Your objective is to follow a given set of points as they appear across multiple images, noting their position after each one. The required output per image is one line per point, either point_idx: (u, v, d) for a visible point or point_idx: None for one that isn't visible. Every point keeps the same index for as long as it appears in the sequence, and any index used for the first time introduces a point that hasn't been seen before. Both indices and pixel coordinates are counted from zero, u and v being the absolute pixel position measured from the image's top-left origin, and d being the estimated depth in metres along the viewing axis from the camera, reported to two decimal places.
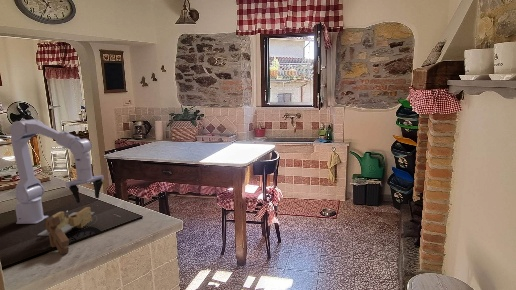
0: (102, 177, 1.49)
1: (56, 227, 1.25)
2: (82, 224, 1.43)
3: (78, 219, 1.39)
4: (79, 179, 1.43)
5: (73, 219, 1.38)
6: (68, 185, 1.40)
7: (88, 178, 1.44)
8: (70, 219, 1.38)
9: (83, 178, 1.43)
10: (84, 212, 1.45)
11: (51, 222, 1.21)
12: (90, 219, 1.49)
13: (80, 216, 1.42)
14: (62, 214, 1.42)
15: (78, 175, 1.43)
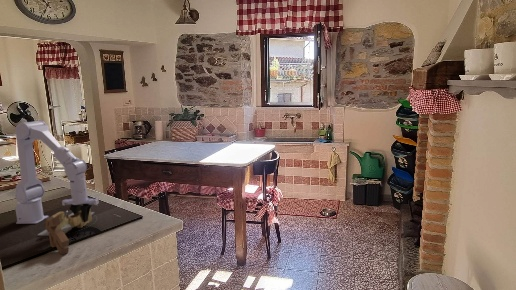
0: (94, 202, 1.42)
1: (56, 227, 1.25)
2: (82, 224, 1.43)
3: (78, 219, 1.39)
4: None
5: (73, 219, 1.38)
6: (63, 203, 1.44)
7: (77, 201, 1.41)
8: (70, 219, 1.38)
9: (73, 200, 1.41)
10: None
11: (51, 222, 1.21)
12: (90, 219, 1.49)
13: (80, 216, 1.42)
14: (62, 214, 1.42)
15: None
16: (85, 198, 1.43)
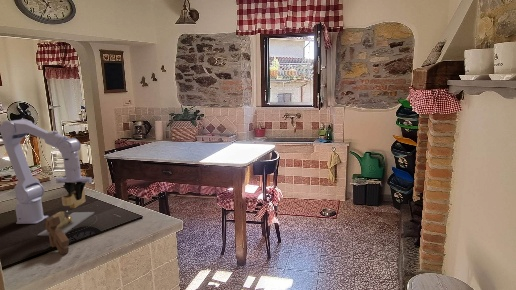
0: (87, 180, 1.44)
1: (56, 227, 1.25)
2: (75, 204, 1.45)
3: (71, 199, 1.41)
4: None
5: (66, 199, 1.39)
6: (57, 181, 1.46)
7: (70, 178, 1.43)
8: (63, 199, 1.39)
9: (66, 177, 1.43)
10: None
11: (51, 222, 1.21)
12: (84, 200, 1.51)
13: (73, 196, 1.44)
14: (62, 214, 1.42)
15: None
16: (79, 176, 1.45)
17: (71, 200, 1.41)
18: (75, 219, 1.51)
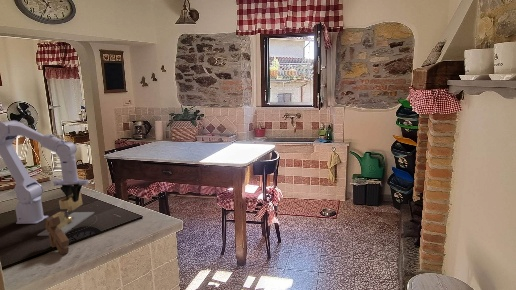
0: (84, 182, 1.49)
1: (56, 227, 1.25)
2: (73, 207, 1.50)
3: (68, 202, 1.45)
4: None
5: (63, 202, 1.44)
6: (54, 184, 1.50)
7: (67, 181, 1.47)
8: (61, 202, 1.44)
9: (63, 180, 1.48)
10: None
11: (51, 222, 1.21)
12: (81, 203, 1.55)
13: (70, 200, 1.48)
14: (62, 214, 1.42)
15: None
16: (75, 179, 1.49)
17: (68, 203, 1.45)
18: (75, 219, 1.51)
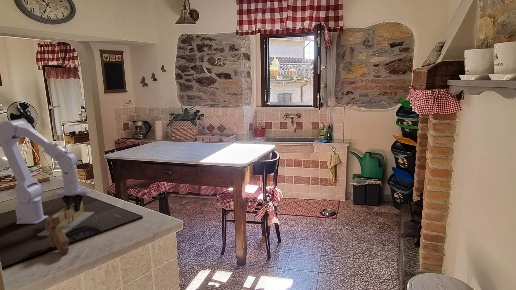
0: (85, 193, 1.50)
1: (56, 227, 1.25)
2: (74, 217, 1.50)
3: (70, 212, 1.46)
4: None
5: (65, 212, 1.45)
6: (55, 194, 1.51)
7: (69, 191, 1.48)
8: None
9: (65, 190, 1.48)
10: None
11: (51, 222, 1.21)
12: (82, 212, 1.56)
13: (72, 209, 1.49)
14: (62, 214, 1.42)
15: None
16: (77, 189, 1.50)
17: (70, 213, 1.46)
18: (75, 219, 1.51)
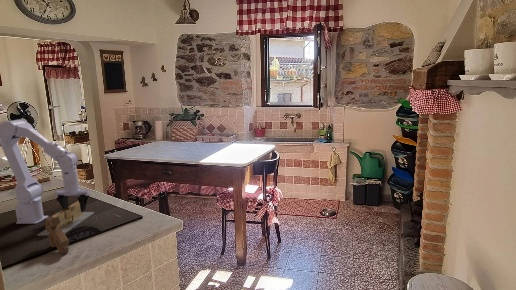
0: (85, 193, 1.50)
1: (56, 227, 1.25)
2: (74, 217, 1.50)
3: (70, 212, 1.46)
4: None
5: (65, 212, 1.45)
6: (55, 194, 1.51)
7: (69, 192, 1.48)
8: None
9: (65, 191, 1.48)
10: (76, 205, 1.52)
11: (51, 222, 1.21)
12: (82, 212, 1.56)
13: (72, 209, 1.49)
14: (62, 214, 1.42)
15: None
16: (77, 189, 1.50)
17: (70, 213, 1.46)
18: (75, 219, 1.51)
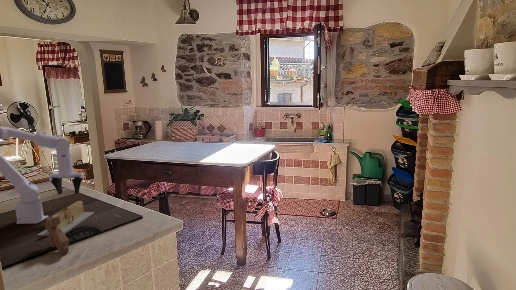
0: (79, 175, 1.56)
1: (56, 227, 1.25)
2: (74, 217, 1.50)
3: (70, 212, 1.46)
4: (58, 173, 1.56)
5: (65, 212, 1.45)
6: (50, 177, 1.56)
7: (63, 174, 1.54)
8: None
9: (59, 173, 1.54)
10: (76, 205, 1.52)
11: (51, 222, 1.21)
12: (82, 212, 1.56)
13: (72, 209, 1.49)
14: (62, 214, 1.42)
15: None
16: (71, 172, 1.56)
17: (70, 213, 1.46)
18: (75, 219, 1.51)
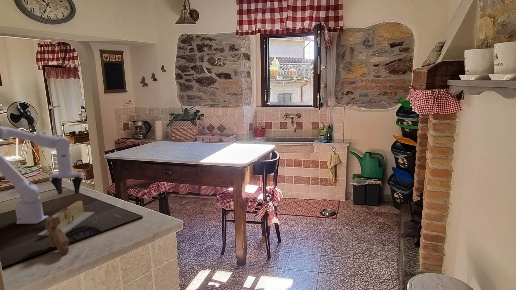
0: (79, 175, 1.56)
1: (56, 227, 1.25)
2: (74, 217, 1.50)
3: (70, 212, 1.46)
4: (58, 173, 1.56)
5: (65, 212, 1.45)
6: (50, 177, 1.56)
7: (63, 174, 1.54)
8: None
9: (59, 173, 1.54)
10: (76, 205, 1.52)
11: (51, 222, 1.21)
12: (82, 212, 1.56)
13: (72, 209, 1.49)
14: (62, 214, 1.42)
15: None
16: (71, 172, 1.56)
17: (70, 213, 1.46)
18: (75, 219, 1.51)
